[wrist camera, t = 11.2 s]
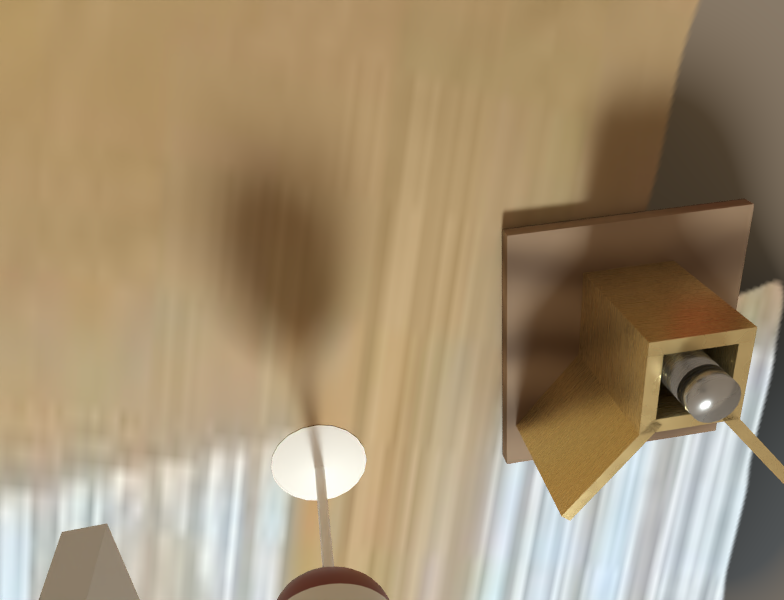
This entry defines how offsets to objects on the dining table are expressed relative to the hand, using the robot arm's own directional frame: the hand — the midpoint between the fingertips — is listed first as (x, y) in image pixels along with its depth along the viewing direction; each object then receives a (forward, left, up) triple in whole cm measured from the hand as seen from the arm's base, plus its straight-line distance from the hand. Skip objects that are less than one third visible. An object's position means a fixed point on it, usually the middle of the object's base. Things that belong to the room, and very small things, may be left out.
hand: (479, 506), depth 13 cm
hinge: (+19, +20, -34) cm, 44 cm away
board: (+19, +20, -35) cm, 44 cm away
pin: (+16, +20, -34) cm, 42 cm away
